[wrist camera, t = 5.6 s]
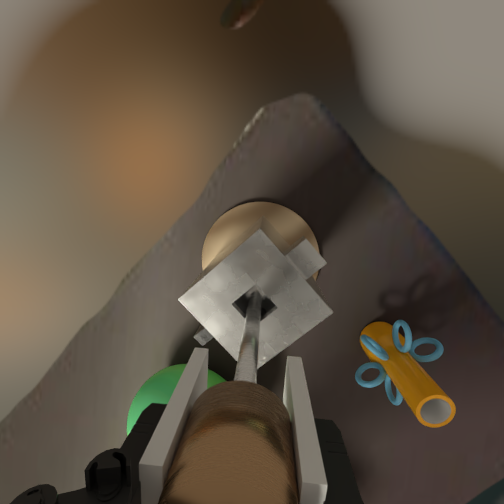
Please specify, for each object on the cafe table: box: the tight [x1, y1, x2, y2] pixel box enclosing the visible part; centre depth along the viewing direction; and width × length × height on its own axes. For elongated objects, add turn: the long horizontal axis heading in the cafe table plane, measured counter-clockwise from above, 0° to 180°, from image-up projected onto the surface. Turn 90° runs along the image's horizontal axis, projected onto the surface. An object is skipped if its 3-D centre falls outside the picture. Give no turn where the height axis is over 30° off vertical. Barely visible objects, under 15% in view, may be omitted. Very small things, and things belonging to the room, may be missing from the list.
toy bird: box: [127, 364, 226, 436], centre depth 40 cm, size 18×17×15 cm
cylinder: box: [355, 320, 456, 427], centre depth 35 cm, size 12×10×15 cm
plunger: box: [158, 284, 299, 504], centre depth 17 cm, size 7×7×20 cm
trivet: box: [202, 202, 319, 281], centre depth 41 cm, size 18×18×1 cm
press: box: [178, 215, 333, 369], centre depth 32 cm, size 10×16×17 cm, turn 131°
